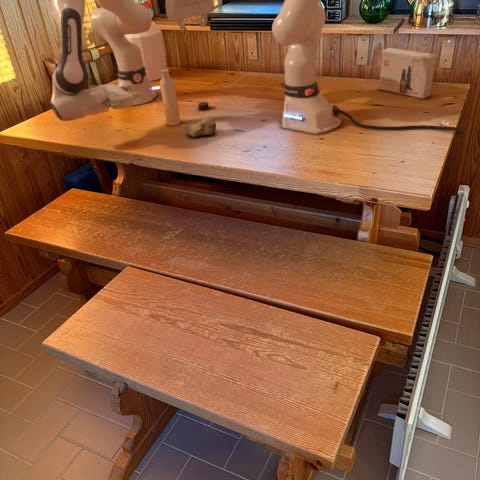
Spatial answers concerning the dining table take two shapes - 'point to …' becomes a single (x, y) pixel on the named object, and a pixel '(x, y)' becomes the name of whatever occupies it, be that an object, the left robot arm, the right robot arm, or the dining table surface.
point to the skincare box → (407, 72)
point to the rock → (202, 127)
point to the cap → (203, 106)
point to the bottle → (169, 99)
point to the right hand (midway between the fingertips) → (193, 29)
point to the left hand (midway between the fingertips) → (136, 90)
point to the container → (151, 51)
